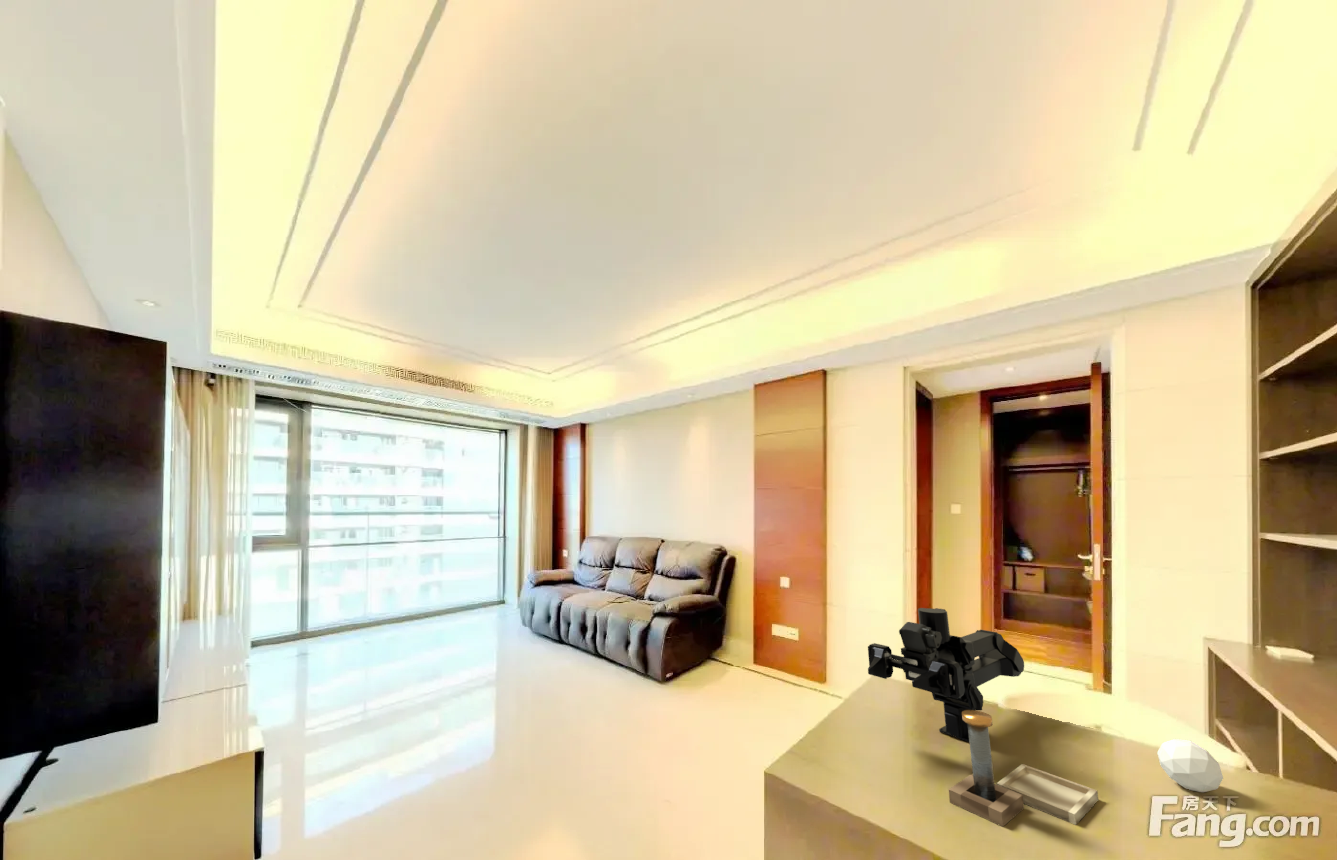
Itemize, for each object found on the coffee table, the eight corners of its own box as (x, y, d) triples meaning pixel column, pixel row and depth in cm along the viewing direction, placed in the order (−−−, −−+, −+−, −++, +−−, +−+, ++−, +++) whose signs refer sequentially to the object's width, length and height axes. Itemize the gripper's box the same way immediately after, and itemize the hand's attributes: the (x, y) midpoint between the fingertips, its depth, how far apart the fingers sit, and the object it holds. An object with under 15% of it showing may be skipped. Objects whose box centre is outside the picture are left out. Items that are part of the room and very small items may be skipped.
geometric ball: (1181, 798, 87) (1156, 747, 93) (1241, 798, 82) (1212, 743, 88) (1164, 787, 85) (1140, 734, 90) (1226, 785, 80) (1197, 730, 85)
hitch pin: (978, 795, 85) (968, 708, 87) (1006, 807, 81) (996, 716, 84) (966, 804, 82) (956, 714, 85) (995, 817, 79) (984, 723, 81)
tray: (1023, 772, 92) (1022, 763, 92) (1098, 800, 83) (1097, 790, 83) (997, 792, 85) (996, 783, 86) (1076, 825, 76) (1074, 814, 77)
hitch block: (972, 786, 87) (970, 774, 88) (1023, 808, 81) (1022, 795, 81) (949, 802, 83) (948, 789, 83) (1003, 826, 76) (1001, 812, 77)
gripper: (886, 615, 113) (845, 625, 104) (973, 630, 98) (933, 644, 89) (890, 666, 112) (849, 681, 103) (979, 689, 97) (940, 710, 88)
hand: (890, 677), depth 96 cm, fingers open, 9 cm apart
